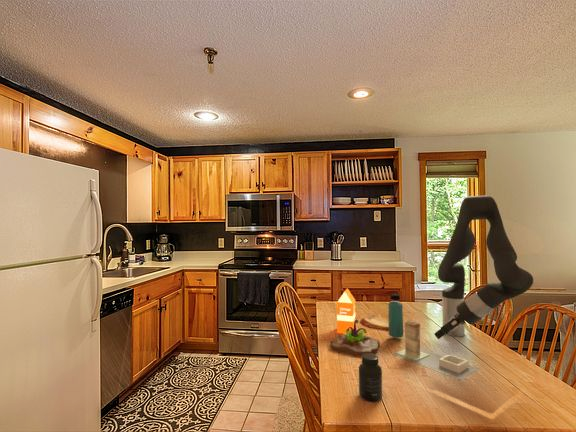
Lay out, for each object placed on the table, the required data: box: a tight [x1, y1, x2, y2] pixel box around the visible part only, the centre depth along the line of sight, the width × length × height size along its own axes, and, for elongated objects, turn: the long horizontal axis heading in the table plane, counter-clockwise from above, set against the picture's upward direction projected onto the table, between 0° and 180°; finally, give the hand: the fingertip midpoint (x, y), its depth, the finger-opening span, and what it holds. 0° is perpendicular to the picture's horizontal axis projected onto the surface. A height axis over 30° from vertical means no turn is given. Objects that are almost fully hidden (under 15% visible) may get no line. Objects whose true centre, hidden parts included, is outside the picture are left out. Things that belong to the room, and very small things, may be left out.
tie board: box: [392, 348, 480, 381], centre depth 119 cm, size 14×26×4 cm, turn 36°
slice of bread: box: [360, 314, 389, 332], centre depth 165 cm, size 18×18×4 cm
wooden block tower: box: [404, 320, 421, 356], centre depth 125 cm, size 4×4×12 cm
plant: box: [329, 318, 381, 358], centre depth 136 cm, size 20×20×11 cm
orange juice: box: [336, 288, 356, 334], centre depth 156 cm, size 8×9×20 cm
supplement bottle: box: [358, 353, 383, 403], centre depth 96 cm, size 7×7×12 cm
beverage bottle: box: [387, 293, 405, 339], centre depth 145 cm, size 6×7×20 cm
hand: (440, 333), depth 117 cm, fingers open, 8 cm apart
